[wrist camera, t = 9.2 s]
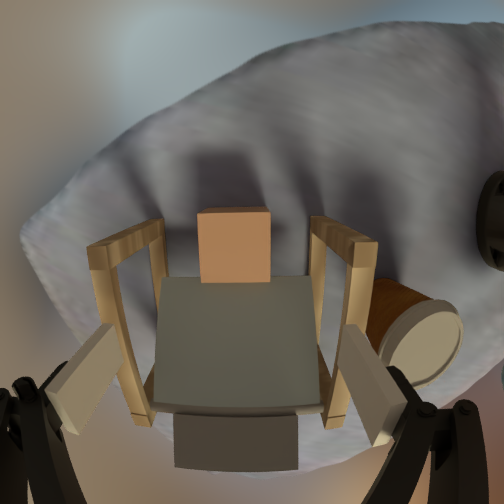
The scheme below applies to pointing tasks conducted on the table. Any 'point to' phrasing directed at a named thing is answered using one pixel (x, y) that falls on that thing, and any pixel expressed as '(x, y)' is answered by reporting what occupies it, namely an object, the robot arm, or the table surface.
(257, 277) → the block
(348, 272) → the frame
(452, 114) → the table surface
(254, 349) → the trapdoor
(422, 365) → the disposable coffee cup
